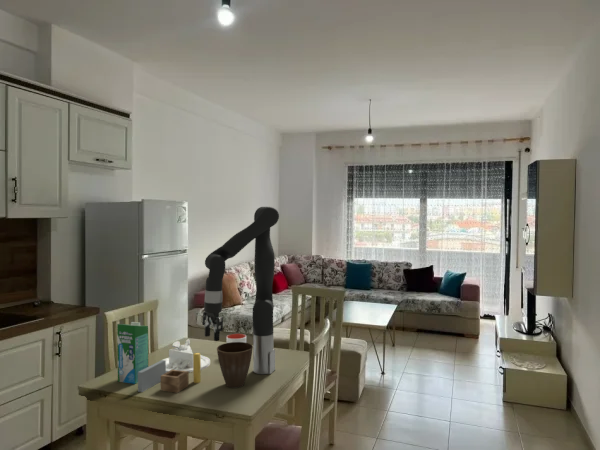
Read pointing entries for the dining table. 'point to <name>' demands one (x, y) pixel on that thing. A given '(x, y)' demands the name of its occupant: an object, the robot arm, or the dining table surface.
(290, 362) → the dining table surface
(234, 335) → the cup
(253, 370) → the robot arm
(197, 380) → the dowel
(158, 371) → the wall
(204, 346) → the dining table surface
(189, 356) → the dish
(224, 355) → the plant pot
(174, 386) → the brown wooden open box
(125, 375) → the milk carton
